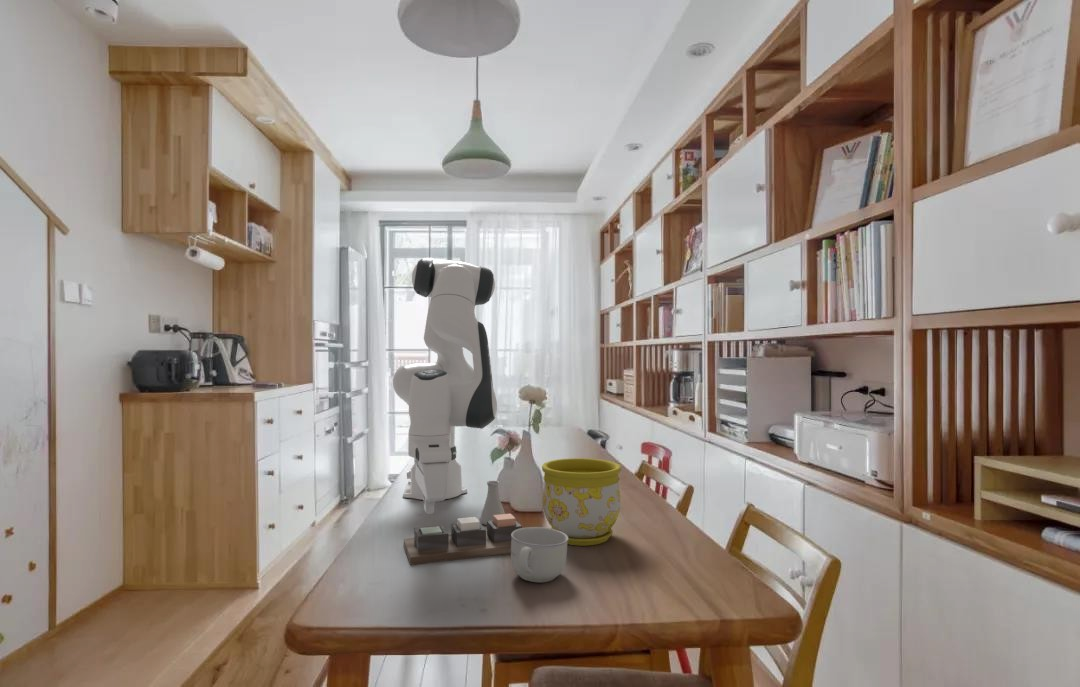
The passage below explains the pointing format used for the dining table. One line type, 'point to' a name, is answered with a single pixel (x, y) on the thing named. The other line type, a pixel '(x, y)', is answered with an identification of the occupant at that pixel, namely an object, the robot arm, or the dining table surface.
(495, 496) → the flask
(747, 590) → the dining table surface
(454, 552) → the button console
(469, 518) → the cream button
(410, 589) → the dining table surface
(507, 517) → the terracotta button
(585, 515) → the flowerpot
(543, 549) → the teacup
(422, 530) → the sage button
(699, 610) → the dining table surface
